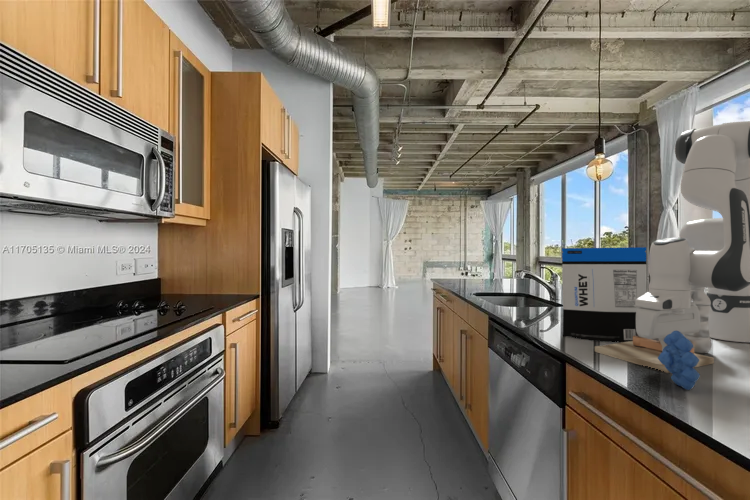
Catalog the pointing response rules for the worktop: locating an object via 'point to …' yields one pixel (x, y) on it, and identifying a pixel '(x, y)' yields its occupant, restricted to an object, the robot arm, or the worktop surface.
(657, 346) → the link
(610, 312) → the protein powder
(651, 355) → the board
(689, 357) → the grapes
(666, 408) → the worktop surface
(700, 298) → the plastic bottle
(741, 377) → the worktop surface
